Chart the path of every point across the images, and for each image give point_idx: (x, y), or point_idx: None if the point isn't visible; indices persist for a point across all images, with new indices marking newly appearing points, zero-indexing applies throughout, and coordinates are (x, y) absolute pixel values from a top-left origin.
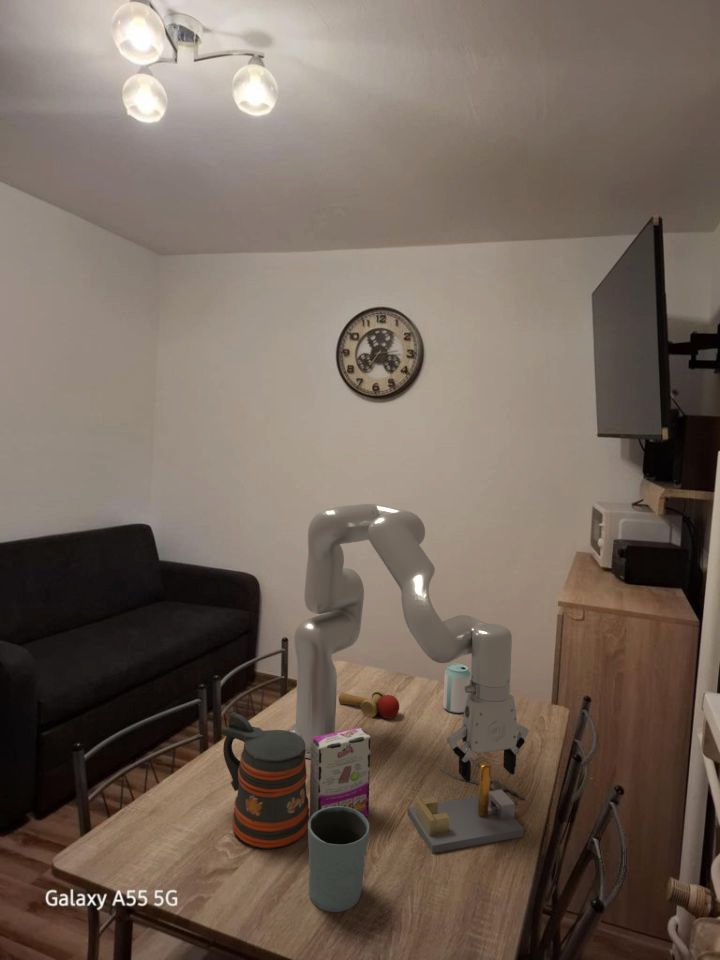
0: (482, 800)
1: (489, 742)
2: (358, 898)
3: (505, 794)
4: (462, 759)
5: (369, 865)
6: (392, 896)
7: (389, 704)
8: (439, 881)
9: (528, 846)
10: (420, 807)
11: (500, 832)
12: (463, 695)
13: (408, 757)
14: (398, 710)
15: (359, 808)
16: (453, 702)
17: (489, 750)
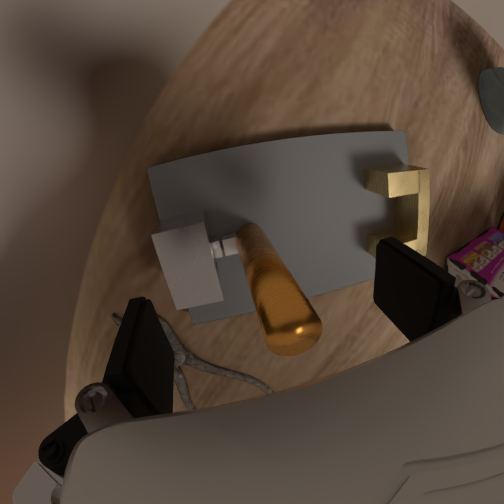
0: (268, 243)
1: (484, 410)
2: (483, 74)
3: (170, 285)
4: (480, 287)
5: (470, 133)
6: (452, 62)
7: None
8: (395, 57)
9: (151, 126)
10: (427, 227)
11: (223, 152)
12: None
13: None
14: None
15: (469, 256)
16: None
17: (427, 346)
